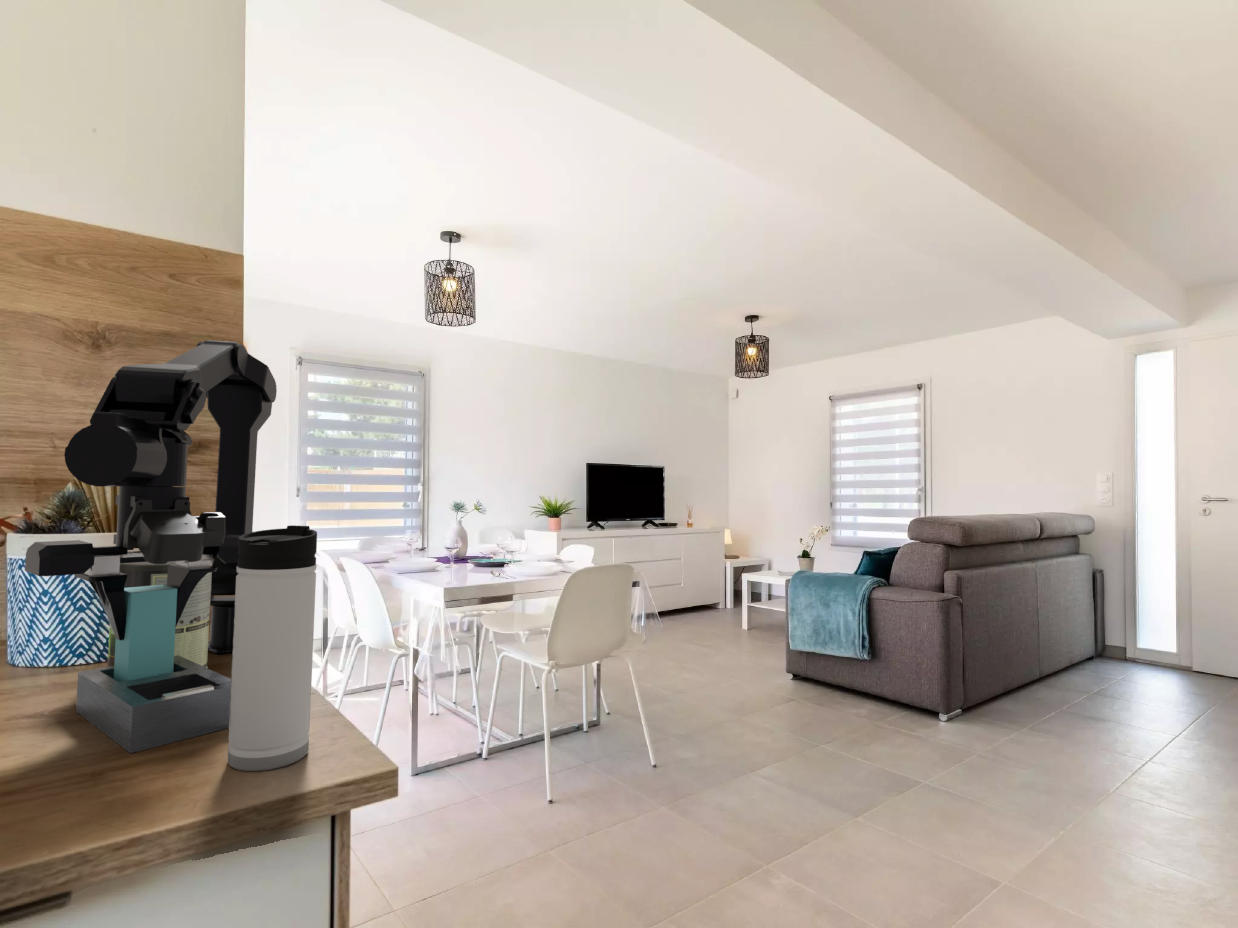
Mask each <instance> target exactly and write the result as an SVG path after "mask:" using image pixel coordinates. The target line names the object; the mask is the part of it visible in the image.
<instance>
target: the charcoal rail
mask: <svg viewBox="0 0 1238 928" xmlns="http://www.w3.org/2000/svg"><path fill="white" fill-rule="evenodd" d="M230 698H231V678H230V677H228V676H226V675H224V674H220V673H219V672H217V671H214V670H212V669H210V668H205V667H203V666H201V665H199V664H197V663H194V662H192V661H190V660H188V659H186V658H183V657H181V656H179V655H177V656H174V666H173V673H168V674H162V675H157V676H151V677H146V678H140V679H135V680H130V681H124V682H117V681H116V680H114V666H110V667H107V666H106V667H99V668H93V669H88V670H87V669H86V670H82V671H78V672H77V686H76V704H75V705H76V706H75V712H76V713H77V714H78V715H80V716H81V717H82V718H84V719H85V720H87V721H88V722H89V723H90V724H92V725H93V726H94V727H96V728H97V729H98V730H100V732H102V733H103V734H104V735H106V736H107V737H109V739H111V740H112V741H113V742H115V743H116V744H118V745H119V746H120V747H122V748H123V750H125V751H126V752H128V753H129V754H132V753H137V752H141V751H145V750H149V749H153V748H156V747H160V746H164V745H168V744H173V743H177V742H179V741H184V740H188V739H191V738H195V737H199V736H203V735H208V734H211V733H214V732H220V731H222V730H223V731H224V730H226V729H229V719H230Z"/></svg>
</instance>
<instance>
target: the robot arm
mask: <svg viewBox="0 0 1238 928" xmlns="http://www.w3.org/2000/svg"><path fill="white" fill-rule="evenodd" d="M275 379H276V378H275V377H274V376H273V374H272V372H271V370H270V367H269V366H268V365H267V364H265V363H264V362H262V361H261V360H259V359H258V358H257V357H254V356H253V355H251V354H250V353H249V352H248V351H247V349H246V346H245V345H244V344H240V343H238V342H237V341H224V340H210V339H209V340H208V339H207V340H204V341H198V343H197V345H196V347H194V348H192V349H189V350H188V351H185V352H184V353H182V354H180V355H178V356H176V357H174V358H171V359H170V360H168V361H166V362H164V363H142V364H141V363H140V364H138V363H137V364H129V365H123V366H121V367H120V368H119V369H118V370H117V371H116V372H115V374H114V376H113V377H112V378H111V379H110V381H109V383H108V385H107V386H106V389H105V390H104V392H103V395H102V396H101V398H100V400H99V402H98V403H97V406H96V408H95V410H94V412H93V413H92V415H91V417H90V419H89V424H90V425H88V426H85V427H83V428H81V429H80V430H79V431H77V432H76V433H75V434H74V435H73V436H72V437H71V438H70V440H69V442H68V444H67V446H66V447H65V448H64V455H63V456H64V462H65V465H66V468H67V470H68V471H69V473H71V476H73V477H74V478H75V479H77V481H79V482H81V483H83V484H86V485H89V486H94V487H102V488H103V487H118V494H115V506H117V522H116V533H114V534H113V541H112V542H113V543H112V544H113V545H107V546H106V545H103V546H94V545H93V542H87V541H83V540H80V539H78V540H53V541H52V540H51V541H50V540H49V541H34V542H33V543H32V544H31V545H30V546H28V547H27V550H26V553H25V562H24V563H25V564H24V571H25V572H27V573H30V574H33V575H35V576H37V577H56V576H68V575H69V576H71V575H73V576H74V578H78V579H80V580H84V581H86V582H89V584H90V585H91V587H92V589H93V590H94V592H95V595H97V597H98V600H99V601H100V604H102V607H103V610H104V612H105V615H106V618H107V619H108V622H109V625H110V624H111V627H112V629H113V632H114V634H115V636H116V638H117V640H124V637H125V629H126V615H125V595H124V588H125V584H126V580H127V576H128V575H127V574H124V573H121V572H120V563H134V562H149V563H153V564H166V563H167V562H171V561H176V564H169V565H168V574H167V586H170V587H173V588H176V589H177V606H176V626H177V624H178V621H179V619H180V617H181V615H182V613H183V610H184V608H185V606H186V604H187V601H188V599H189V597H190V595H191V593H192V592H193V590H194V588H195V587H196V585H197V584H198V582H199V581H200V580H201V579H202V578H203V577H204V576H205V575H206V574H207V573H210V572H212V578H211V597H210V624H209V640H208V651H210V652H212V653H215V654H225V653H231V652H232V653H233V634H234V612H235V591H236V576H237V575H238V573H237V571H236V570H237V565H238V559H239V555H238V544H239V537H240V536H242V535H244V534H247V533H251V532H253V525H254V524H253V523H254V505H255V502H254V501H255V486H256V485H255V484H256V470H257V469H256V467H257V448H258V447H257V445H258V434H259V431H260V429H261V428H262V427H263V426H264V425H265V423H266V422H267V421H268V419H269V418H270V417H271V416H272V409H273V403H274V402H275V401H276V398H277V390H278V389H277V381H276V380H275ZM206 402H207V410H208V411H209V414H211V416H212V419H213V420H214V421H215V423H216V425H217V426H218V427H219V439H218V440H219V442H218V446H219V447H218V457H217V458H218V461H217V477H216V478H217V479H216V493H215V494H216V495H215V496H216V497H215V510H214V511H215V512H214V511H211V512H210V511H209V512H208V511H206V512H201V513H200V515H192V512H191V511H192V510H191V502H190V496H186V494H187V493H186V492H187V490H186V489H187V487H186V486H187V473H188V472H187V470H188V453H189V452H188V450H189V447H190V446H191V445H193V440H192V437H191V435H189V434H188V433H187V432H186V431H187V430H188V429H189V427H190V426H191V425H193V424H194V422H195V421H196V420H197V417H198V416H199V414H201V412H202V411H203V409H205V406H206V405H205V404H206ZM135 549H138V550H135ZM213 558H214V563H213V565H212V561H213ZM176 626H175V628H176Z"/></svg>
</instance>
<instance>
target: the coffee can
mask: <svg viewBox="0 0 1238 928" xmlns="http://www.w3.org/2000/svg"><path fill="white" fill-rule="evenodd" d="M213 563H214V558H213V561H212V565H213ZM169 564H176V561H171V562H167V563H166V564H153V563H149V562H134V563H120V572H121V573H124V574H127V575H128V576H127V580H126V584H125V588H130V587H141V586H152V585H166V586H167V574H168V565H169ZM211 578H212V572H210V573H207V574H206V575H205V576H204V577H203V578H202V579H201V580H200V581H199V582H198V584H197V585H196V587H195V588H194V590H193V592H192V593H191V595H190V597H189V599H188V601H187V604H186V606H185V608H184V610H183V613H182V615H181V617H180V619H179V621H178V624H177V626H176V628H175V646H174V656H177V655H179V656H181V657H183V658H186V659H188V660H190V661H192V662H194V663H197V664H199V665H201V666H203V667H205V668H208V651H209V650H208V641H209V636H210V617H211V606H210V597H211ZM108 631H109V632H108V647H107V648H108V649H107V666H106V667H110V666H114V662H115V643H116V636H115V634H114V632H113V629H112V627H111V624H110V623H109V630H108ZM208 669H209V668H208Z"/></svg>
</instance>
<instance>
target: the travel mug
mask: <svg viewBox="0 0 1238 928" xmlns="http://www.w3.org/2000/svg"><path fill="white" fill-rule="evenodd" d="M317 542H318V532H317V531H316V530H314V529H310V526H309V525H292V524H291V525H287V527H286V528H272V529H265V530H264V529H263V530H256V531H252V532H251V533H247V534H244V535H242V536H240V537H239V544H238V555H239V559H238V565H237V570H236V571H237V573H238V575H237V576H236V591H235V595H234V596H235V612H234V634H233V651H232V657H231V658H232V660H231V678H230V679H231V698H230V719H229V728H228V745H227V764H229V766H230V767H231V768H233V769H236V770H237V771H238V770H239V771H244V772H263V771H270V770H277V769H280V768H283V767H287V766H289V765H291V764H295V763H296V762H299V761H300V760H301V759H303V757H305V756H306V755H307V754H308V752H309V749H310V734H309V733H310V725H311V702H312V701H311V700H312V698H311V697H312V680H313V679H312V678H313V677H312V676H313V657H314V656H313V655H314V653H313V652H314V636H315V635H314V634H315V633H314V632H315V629H314V628H315V610H316V609H315V607H316V606H315V605H316V588H317V587H316V585H317V583H316V582H317V572H316V570H317V566H318V565H317V557H316V554H317V547H318V546H317V545H318V543H317Z"/></svg>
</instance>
